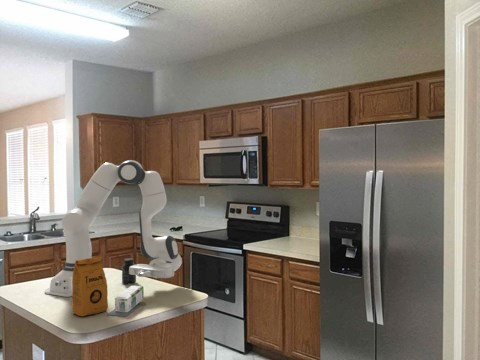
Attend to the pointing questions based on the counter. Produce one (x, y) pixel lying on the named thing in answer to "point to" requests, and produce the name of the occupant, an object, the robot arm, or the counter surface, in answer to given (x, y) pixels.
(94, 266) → the coffee package
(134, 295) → the syrup box
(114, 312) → the mat
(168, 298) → the counter surface
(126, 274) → the supplement bottle
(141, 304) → the brown block
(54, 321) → the counter surface
